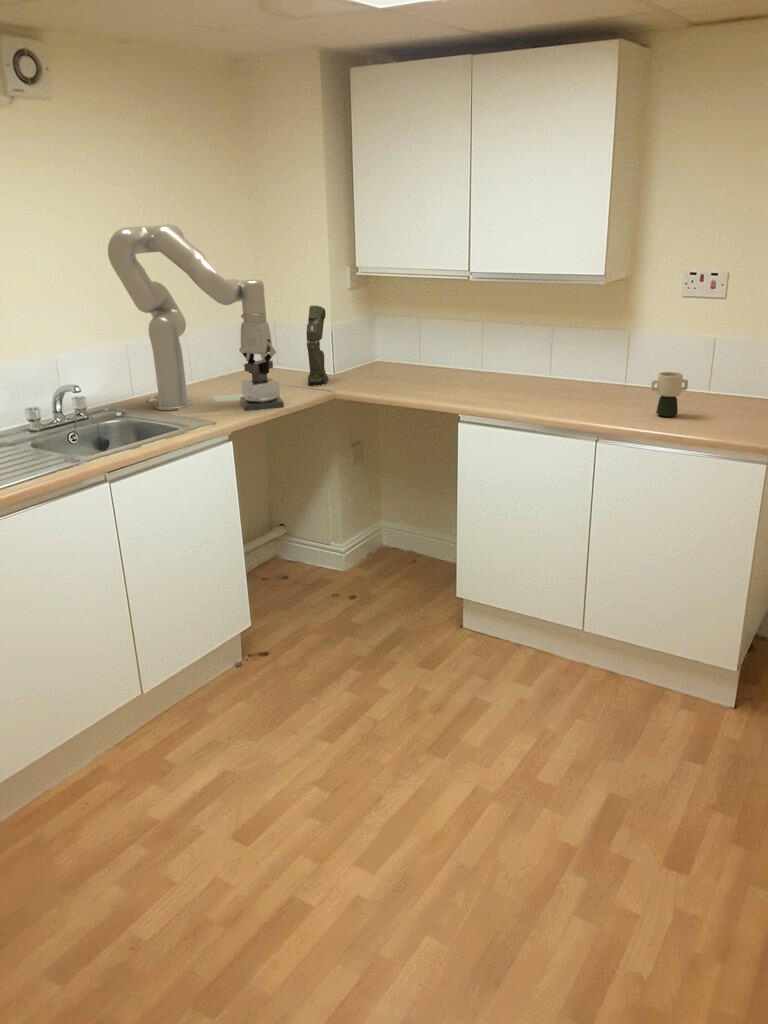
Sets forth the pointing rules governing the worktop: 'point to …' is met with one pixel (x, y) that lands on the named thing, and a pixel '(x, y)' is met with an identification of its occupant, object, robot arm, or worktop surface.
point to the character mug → (668, 392)
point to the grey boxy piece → (260, 390)
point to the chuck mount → (262, 404)
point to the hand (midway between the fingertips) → (259, 372)
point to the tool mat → (227, 397)
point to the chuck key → (257, 371)
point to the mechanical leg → (316, 346)
